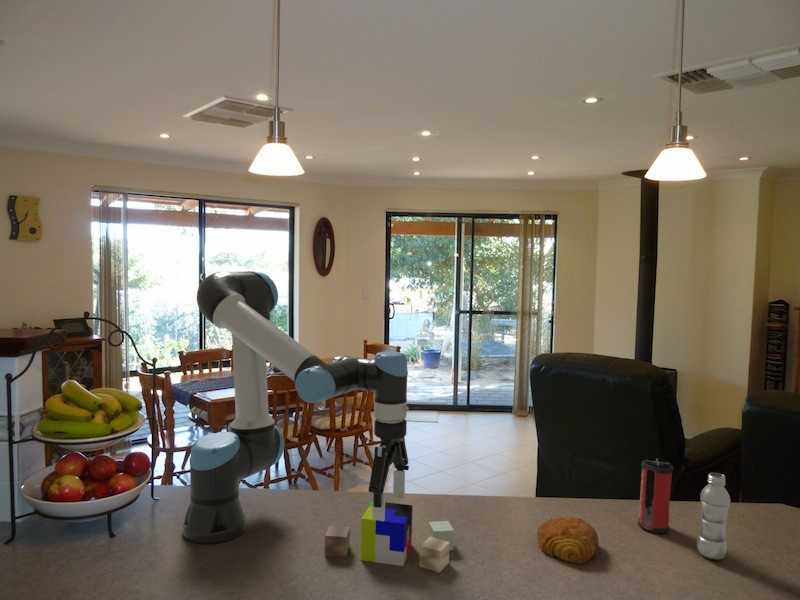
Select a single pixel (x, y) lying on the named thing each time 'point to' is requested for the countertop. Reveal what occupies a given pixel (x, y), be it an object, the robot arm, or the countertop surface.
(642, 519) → the speaker
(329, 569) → the countertop surface
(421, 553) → the maple block
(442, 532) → the sage painted block
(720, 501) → the plastic bottle
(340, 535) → the brown wooden cube
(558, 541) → the croissant
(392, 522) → the puzzle toy
